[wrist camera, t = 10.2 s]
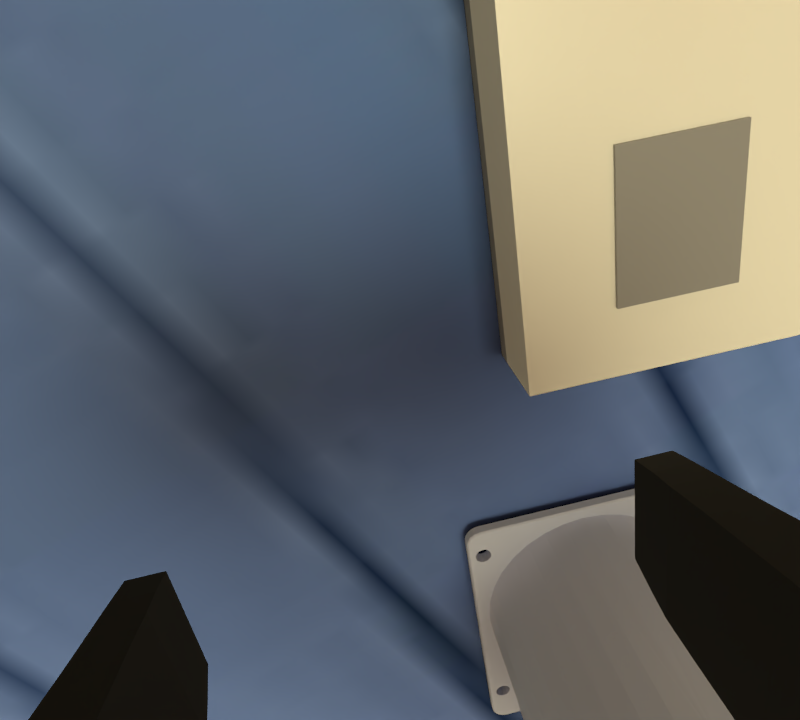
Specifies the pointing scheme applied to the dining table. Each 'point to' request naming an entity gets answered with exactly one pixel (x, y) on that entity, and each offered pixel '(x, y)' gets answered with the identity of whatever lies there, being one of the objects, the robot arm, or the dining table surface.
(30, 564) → the dining table surface
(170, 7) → the dining table surface
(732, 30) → the power strip
